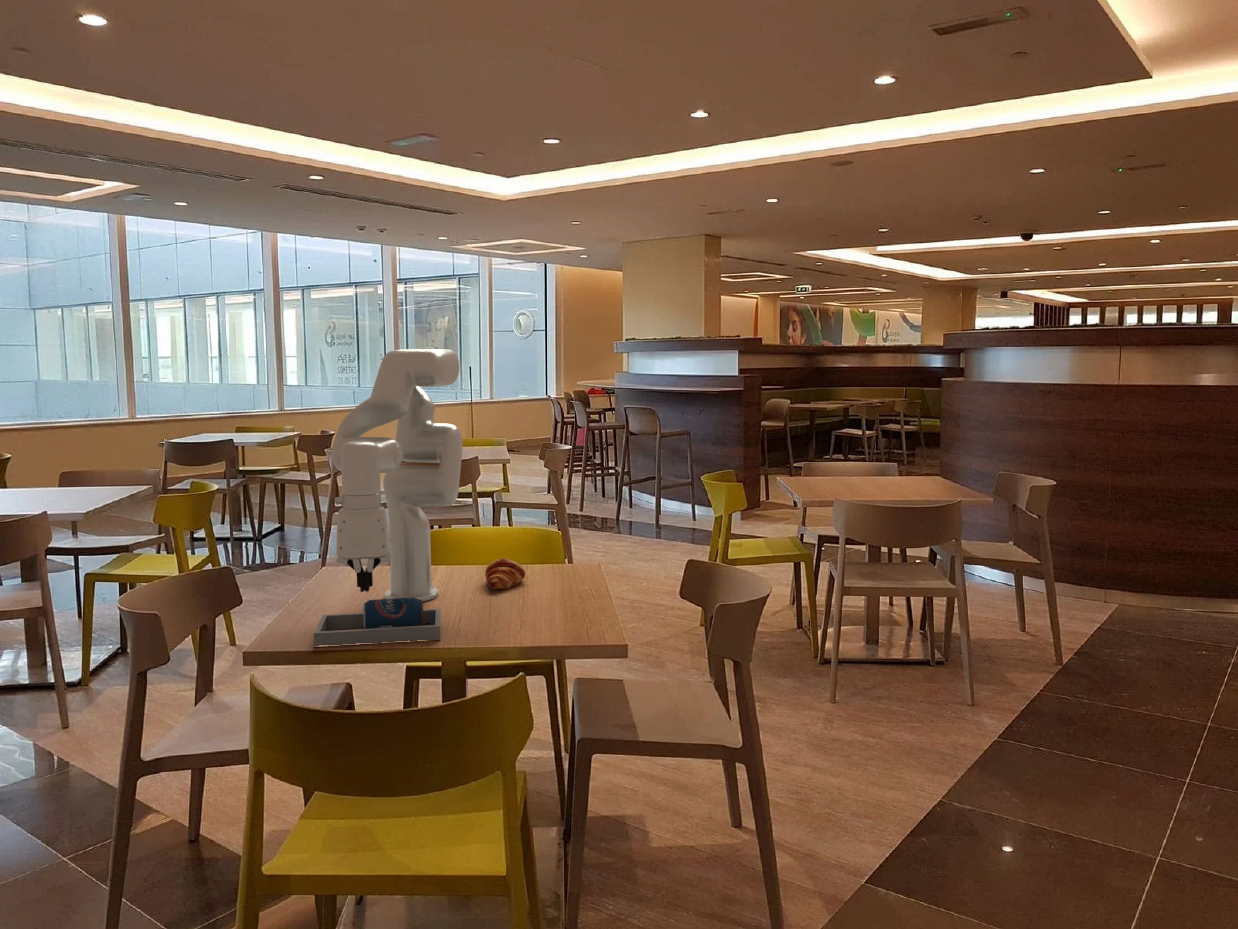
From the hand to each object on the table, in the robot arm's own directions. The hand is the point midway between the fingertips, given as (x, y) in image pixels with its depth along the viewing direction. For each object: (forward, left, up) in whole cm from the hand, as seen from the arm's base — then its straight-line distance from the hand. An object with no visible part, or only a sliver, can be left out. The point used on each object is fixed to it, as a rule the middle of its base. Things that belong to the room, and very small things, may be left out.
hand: (365, 590), depth 183 cm
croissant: (-38, +31, -10) cm, 50 cm away
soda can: (-1, -1, -6) cm, 6 cm away
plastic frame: (0, +3, -10) cm, 10 cm away
